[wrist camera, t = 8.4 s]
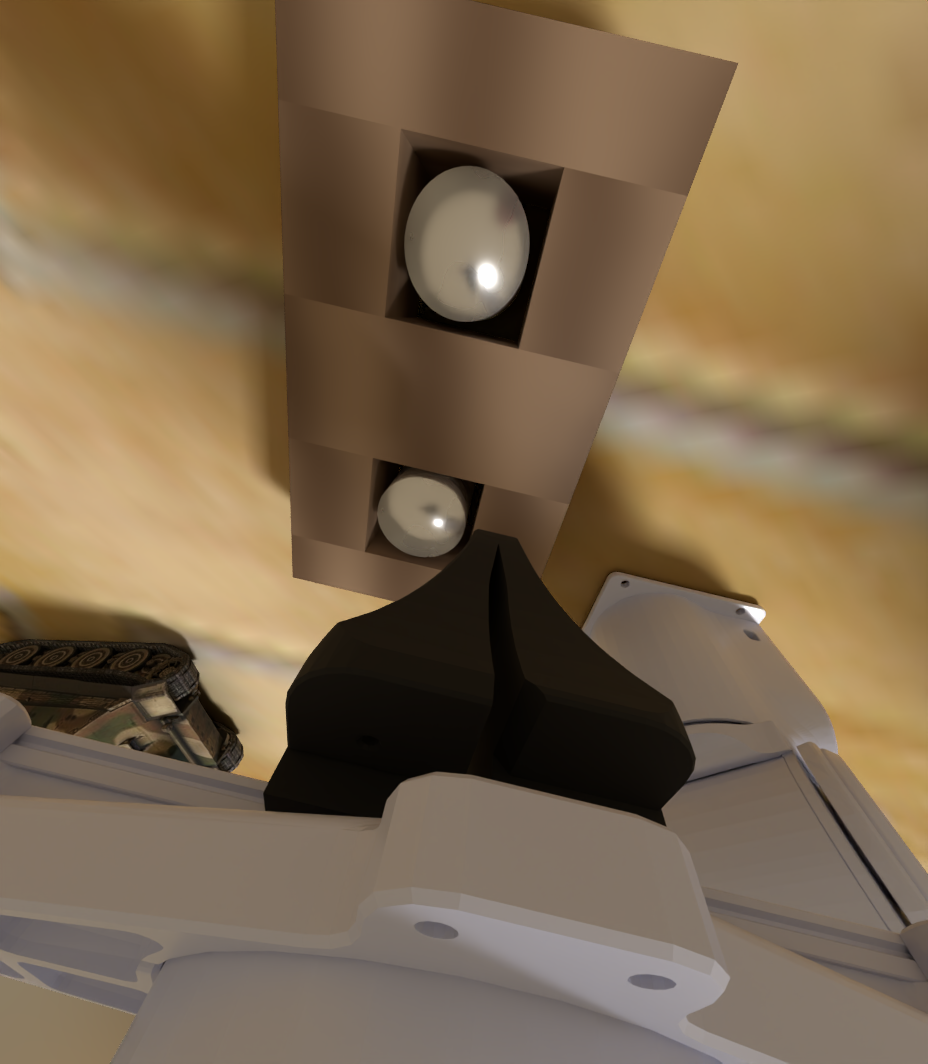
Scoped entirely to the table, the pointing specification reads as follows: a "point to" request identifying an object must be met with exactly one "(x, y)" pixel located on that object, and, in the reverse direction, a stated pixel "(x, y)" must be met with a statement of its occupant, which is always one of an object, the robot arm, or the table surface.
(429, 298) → the peg
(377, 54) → the walnut block
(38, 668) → the model tank
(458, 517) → the peg
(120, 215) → the table surface
